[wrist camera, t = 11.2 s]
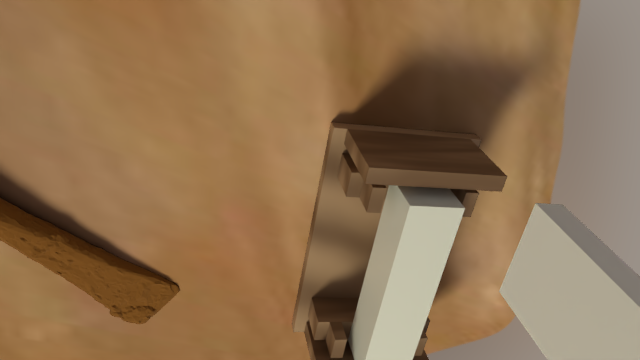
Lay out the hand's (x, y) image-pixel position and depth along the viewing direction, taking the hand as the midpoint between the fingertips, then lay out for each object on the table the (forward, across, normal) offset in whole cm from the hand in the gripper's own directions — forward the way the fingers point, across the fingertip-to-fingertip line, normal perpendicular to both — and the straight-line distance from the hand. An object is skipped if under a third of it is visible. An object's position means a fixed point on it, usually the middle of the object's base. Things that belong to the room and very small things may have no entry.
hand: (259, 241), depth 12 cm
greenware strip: (+23, +15, -18) cm, 33 cm away
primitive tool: (+27, -10, -20) cm, 35 cm away
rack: (+27, +15, -18) cm, 35 cm away
